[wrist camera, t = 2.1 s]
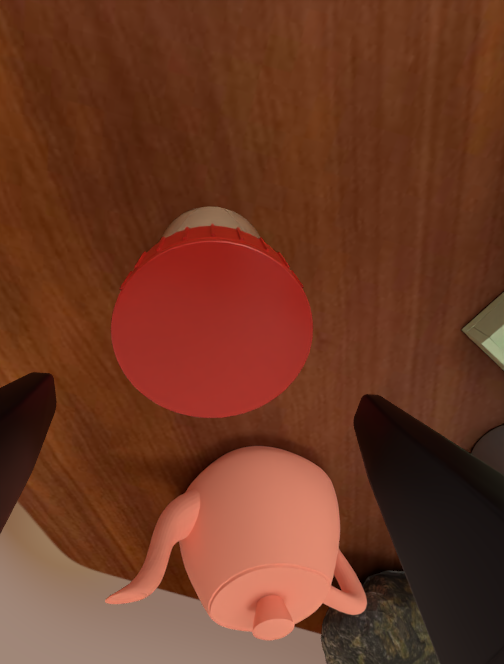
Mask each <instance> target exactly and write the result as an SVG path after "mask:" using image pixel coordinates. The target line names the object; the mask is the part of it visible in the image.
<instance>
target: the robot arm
mask: <svg viewBox="0 0 504 664" xmlns="http://www.w3.org/2000/svg"><path fill="white" fill-rule="evenodd" d="M55 410H56V394H55V385H54V378H53V376H52V375H51V374H49V373H36V372H33V373H30V374H28V375H26V376H24V377H22V378H19V379H17V380H15V381H13V382H11V383H9V384H7V385H5V386H3V387H1V388H0V533H1V531H2V529H3V527H4V525H5V524H6V522H7V520H8V518H9V516H10V514H11V512H12V510H13V508H14V506H15V504H16V502H17V500H18V498H19V497H20V495H21V493H22V491H23V489H24V487H25V485H26V483H27V481H28V479H29V477H30V475H31V473H32V471H33V468H34V466H35V463H36V461H37V458H38V455H39V453H40V450H41V448H42V445H43V442H44V440H45V437H46V434H47V432H48V429H49V426H50V424H51V421H52V418H53V416H54V413H55ZM354 429H355V432H356V436H357V440H358V443H359V447H360V451H361V455H362V458H363V462H364V466H365V469H366V473H367V476H368V479H369V482H370V484H371V487H372V490H373V492H374V495H375V498H376V500H377V503H378V505H379V508H380V511H381V513H382V516H383V518H384V521H385V524H386V526H387V529H388V531H389V534H390V536H391V539H392V542H393V544H394V547H395V549H396V552H397V555H398V557H399V560H400V562H401V565H402V568H403V570H404V573H405V575H406V578H407V580H408V583H409V586H410V588H411V591H412V593H413V596H414V599H415V601H416V604H417V606H418V609H419V612H420V614H421V617H422V619H423V622H424V624H425V627H426V630H427V632H428V635H429V637H430V640H431V643H432V645H433V648H434V650H435V653H436V656H437V658H438V661H439V663H440V664H504V475H503V474H501V473H500V472H498V471H497V470H495V469H493V468H492V467H490V466H489V465H487V464H486V463H484V462H483V461H481V460H479V459H478V458H476V457H475V456H473V455H472V454H470V453H468V452H467V451H465V450H464V449H462V448H461V447H459V446H458V445H456V444H454V443H453V442H451V441H450V440H448V439H447V438H445V437H444V436H442V435H440V434H439V433H437V432H436V431H434V430H433V429H431V428H430V427H428V426H426V425H425V424H423V423H422V422H420V421H419V420H417V419H415V418H414V417H412V416H411V415H409V414H408V413H406V412H405V411H403V410H401V409H400V408H398V407H397V406H395V405H394V404H392V403H391V402H389V401H387V400H386V399H384V398H383V397H381V396H379V395H370V394H366V395H364V396H363V397H362V398H361V401H360V403H359V406H358V409H357V411H356V414H355V416H354Z"/></svg>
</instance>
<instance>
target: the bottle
mask: <svg viewBox="0 0 504 664" xmlns="http://www.w3.org/2000/svg"><path fill="white" fill-rule="evenodd" d="M471 454H472V455H473V456H475V457H476V458H478V459H479V460H481V461H483V462H484V463H486V464H487V465H489V466H490V467H492V468H493V469H495V470H497V471H498V472H500V473H501V474H503V475H504V425H502V426H500V427H497V428H495V429H493V430H491V431H490V432H488V433H487V434H486V435H484V436H483V437H482V438H481V439H480V440H479V441H478V442H477V444H476V445H475V446H474V449H473V451H472V453H471Z"/></svg>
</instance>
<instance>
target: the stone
mask: <svg viewBox="0 0 504 664" xmlns="http://www.w3.org/2000/svg"><path fill="white" fill-rule="evenodd" d="M362 587H363V589H364V592H365V595H366V599H367V606H366V609H365V610H364V611H363V612H362V613H360V614H357V615H350V614H346V613H343V612H340V611H338V610H336V609H333V608H331V607H329V609H328V611H327V613H326V616H325V618H324V620H323V624H322V635H321V641H322V647H323V650H324V653H325V658H326V662H327V664H440V663H439V661H438V658H437V656H436V653H435V650H434V648H433V645H432V643H431V640H430V637H429V635H428V632H427V630H426V627H425V624H424V622H423V619H422V617H421V614H420V612H419V609H418V606H417V604H416V601H415V599H414V596H413V593H412V591H411V588H410V586H409V583H408V580H407V578H406V575H405V573H404V571H383V572H381V573H379V574H375V575H372V576H369V577H368V578H367V579H366V580H365V581H364V583H363V585H362Z"/></svg>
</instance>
